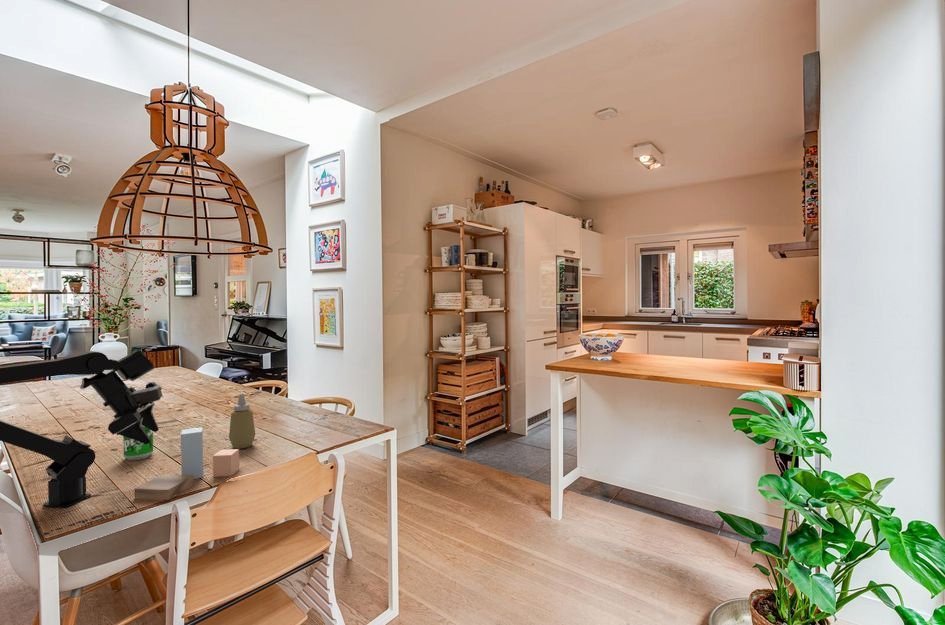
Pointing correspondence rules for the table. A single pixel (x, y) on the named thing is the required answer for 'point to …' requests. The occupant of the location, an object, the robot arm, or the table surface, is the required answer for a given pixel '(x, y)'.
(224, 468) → the terracotta block
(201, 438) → the blue pillar
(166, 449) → the table surface
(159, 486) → the walnut slab
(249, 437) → the squeeze bottle
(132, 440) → the soda can
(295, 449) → the table surface
